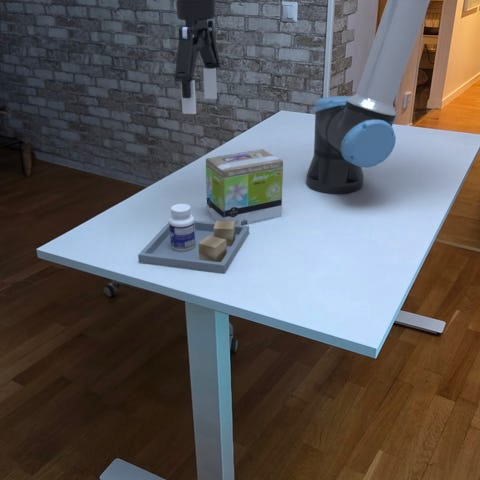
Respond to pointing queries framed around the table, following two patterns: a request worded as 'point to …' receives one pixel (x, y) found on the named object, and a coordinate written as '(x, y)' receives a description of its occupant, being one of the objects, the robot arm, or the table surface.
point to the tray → (167, 256)
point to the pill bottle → (182, 228)
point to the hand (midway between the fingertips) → (200, 105)
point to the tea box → (244, 187)
